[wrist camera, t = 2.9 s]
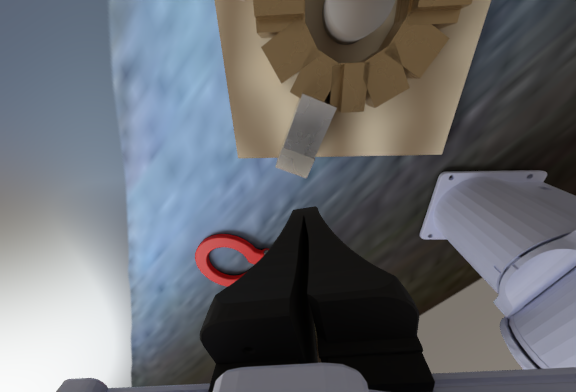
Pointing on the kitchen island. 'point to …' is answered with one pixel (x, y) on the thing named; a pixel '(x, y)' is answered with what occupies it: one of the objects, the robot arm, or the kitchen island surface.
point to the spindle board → (345, 49)
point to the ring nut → (345, 67)
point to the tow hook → (230, 242)
